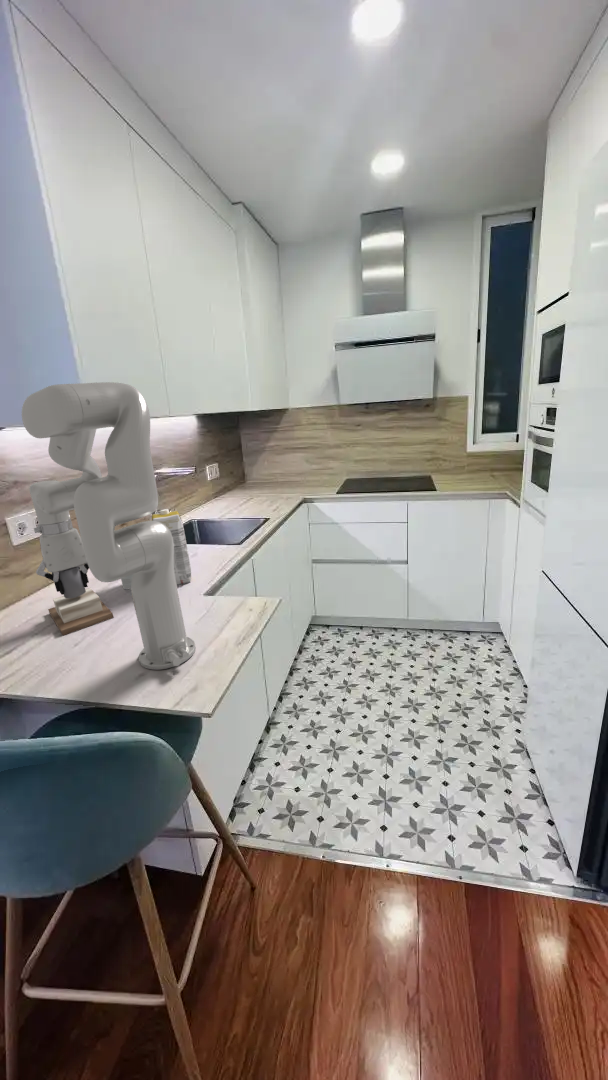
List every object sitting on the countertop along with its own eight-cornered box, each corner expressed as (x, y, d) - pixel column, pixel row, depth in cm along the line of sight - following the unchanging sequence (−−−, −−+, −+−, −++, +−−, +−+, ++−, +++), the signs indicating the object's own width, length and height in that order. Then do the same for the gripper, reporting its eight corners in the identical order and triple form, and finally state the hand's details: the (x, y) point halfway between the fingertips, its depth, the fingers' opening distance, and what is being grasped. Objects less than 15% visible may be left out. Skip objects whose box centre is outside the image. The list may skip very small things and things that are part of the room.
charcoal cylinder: (87, 593, 123) (80, 566, 120) (66, 600, 119) (58, 573, 117) (83, 588, 127) (76, 562, 124) (62, 594, 124) (54, 568, 121)
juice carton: (191, 574, 148) (178, 505, 141) (193, 582, 141) (181, 510, 134) (162, 580, 146) (148, 510, 138) (164, 589, 138) (149, 515, 131)
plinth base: (113, 617, 122) (109, 599, 121) (62, 635, 115) (57, 616, 113) (96, 598, 136) (91, 582, 134) (49, 613, 128) (44, 596, 127)
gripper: (22, 538, 109) (41, 604, 115) (94, 522, 119) (109, 583, 125) (17, 533, 115) (37, 595, 121) (87, 517, 125) (101, 576, 130)
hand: (73, 588), depth 123 cm, fingers closed on charcoal cylinder, 5 cm apart
